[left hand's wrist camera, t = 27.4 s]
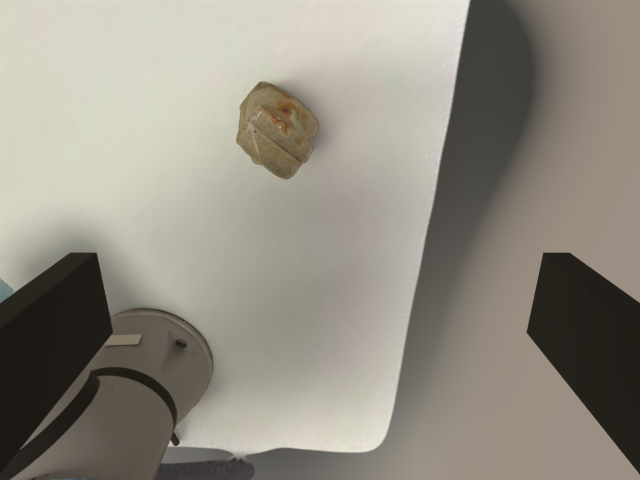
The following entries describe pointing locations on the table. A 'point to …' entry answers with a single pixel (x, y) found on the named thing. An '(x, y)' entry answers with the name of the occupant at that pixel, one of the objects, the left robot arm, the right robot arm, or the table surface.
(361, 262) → the table surface
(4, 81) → the table surface
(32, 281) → the left robot arm
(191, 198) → the table surface
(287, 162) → the sculpture
